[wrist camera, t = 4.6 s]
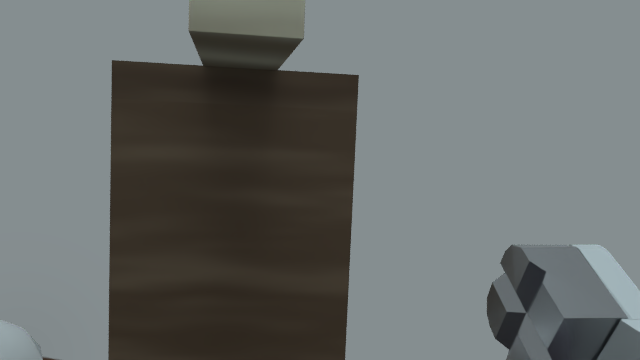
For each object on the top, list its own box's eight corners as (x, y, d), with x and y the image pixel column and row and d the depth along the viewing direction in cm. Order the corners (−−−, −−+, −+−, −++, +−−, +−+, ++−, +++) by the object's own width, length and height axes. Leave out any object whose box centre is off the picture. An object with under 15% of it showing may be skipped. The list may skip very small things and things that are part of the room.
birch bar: (303, 38, 15) (308, -78, 15) (188, 30, 15) (191, -90, 14) (259, 91, 37) (261, 44, 36) (212, 88, 36) (214, 41, 36)
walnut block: (331, 643, 26) (358, 75, 24) (104, 666, 25) (111, 60, 22) (296, 465, 40) (311, 94, 38) (149, 473, 38) (156, 86, 36)
